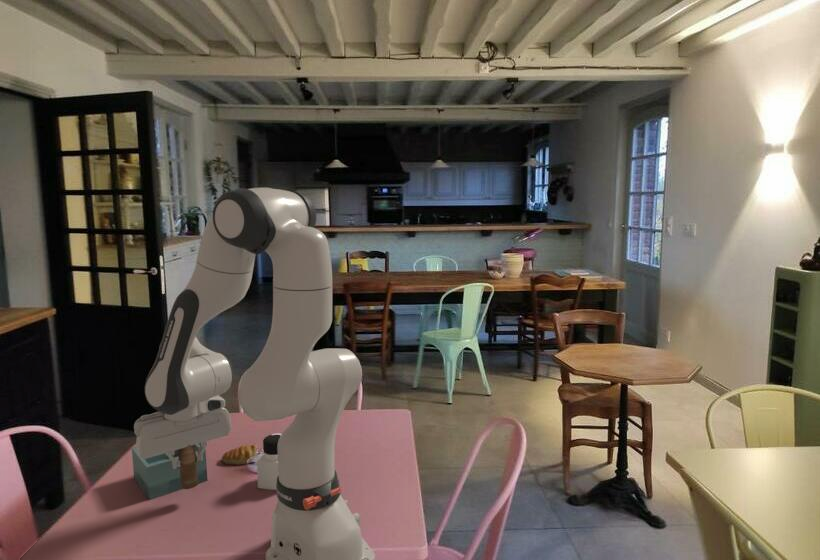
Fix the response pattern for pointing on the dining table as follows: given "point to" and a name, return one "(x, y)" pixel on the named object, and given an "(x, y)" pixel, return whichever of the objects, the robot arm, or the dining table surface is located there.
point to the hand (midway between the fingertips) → (187, 464)
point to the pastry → (240, 454)
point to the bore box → (162, 473)
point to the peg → (188, 467)
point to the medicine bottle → (268, 463)
